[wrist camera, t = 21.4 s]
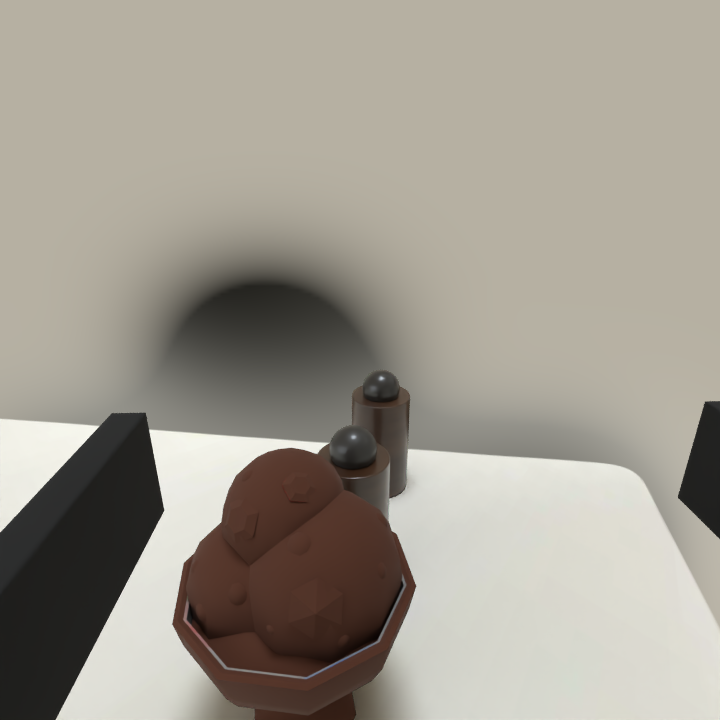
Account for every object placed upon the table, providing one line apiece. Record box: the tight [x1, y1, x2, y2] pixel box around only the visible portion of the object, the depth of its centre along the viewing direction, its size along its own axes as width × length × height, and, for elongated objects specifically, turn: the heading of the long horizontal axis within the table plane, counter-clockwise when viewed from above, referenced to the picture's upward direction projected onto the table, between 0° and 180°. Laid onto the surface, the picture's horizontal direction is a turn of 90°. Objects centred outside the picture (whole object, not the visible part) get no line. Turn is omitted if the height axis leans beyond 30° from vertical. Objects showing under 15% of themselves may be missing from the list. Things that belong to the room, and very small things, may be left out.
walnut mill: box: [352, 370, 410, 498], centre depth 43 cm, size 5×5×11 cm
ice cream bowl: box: [172, 448, 416, 720], centre depth 24 cm, size 11×11×15 cm
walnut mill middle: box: [318, 425, 390, 521], centre depth 34 cm, size 5×5×11 cm
